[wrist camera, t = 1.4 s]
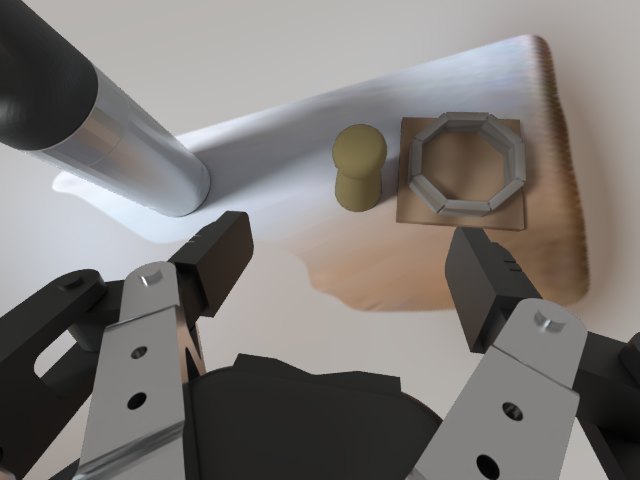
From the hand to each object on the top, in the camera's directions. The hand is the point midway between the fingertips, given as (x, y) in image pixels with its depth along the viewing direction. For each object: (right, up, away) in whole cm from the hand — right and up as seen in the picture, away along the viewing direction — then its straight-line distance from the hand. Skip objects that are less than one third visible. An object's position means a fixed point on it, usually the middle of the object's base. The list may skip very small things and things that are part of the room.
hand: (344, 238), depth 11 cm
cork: (+4, +6, +25) cm, 26 cm away
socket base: (+16, +8, +23) cm, 30 cm away
